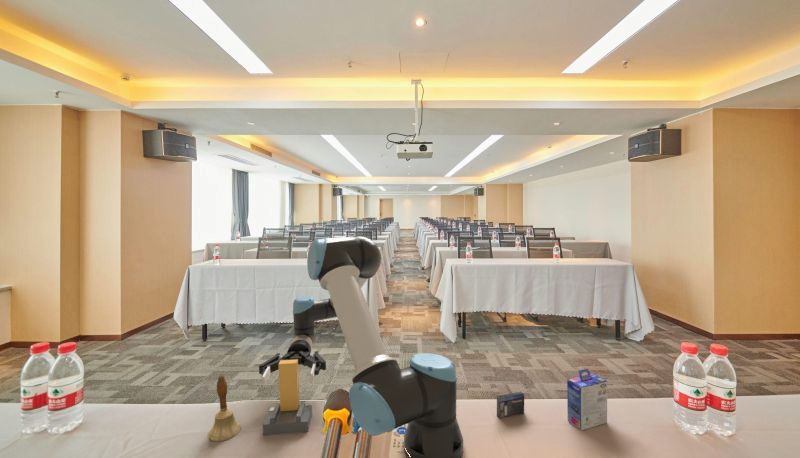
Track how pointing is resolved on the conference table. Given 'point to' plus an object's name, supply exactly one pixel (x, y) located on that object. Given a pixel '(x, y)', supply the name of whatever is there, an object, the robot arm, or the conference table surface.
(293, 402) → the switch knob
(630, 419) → the conference table surface
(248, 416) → the conference table surface
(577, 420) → the ink cartridge box
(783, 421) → the conference table surface
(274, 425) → the stepped grey plinth
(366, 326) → the robot arm
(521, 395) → the mini dv tape
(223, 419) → the hand bell
